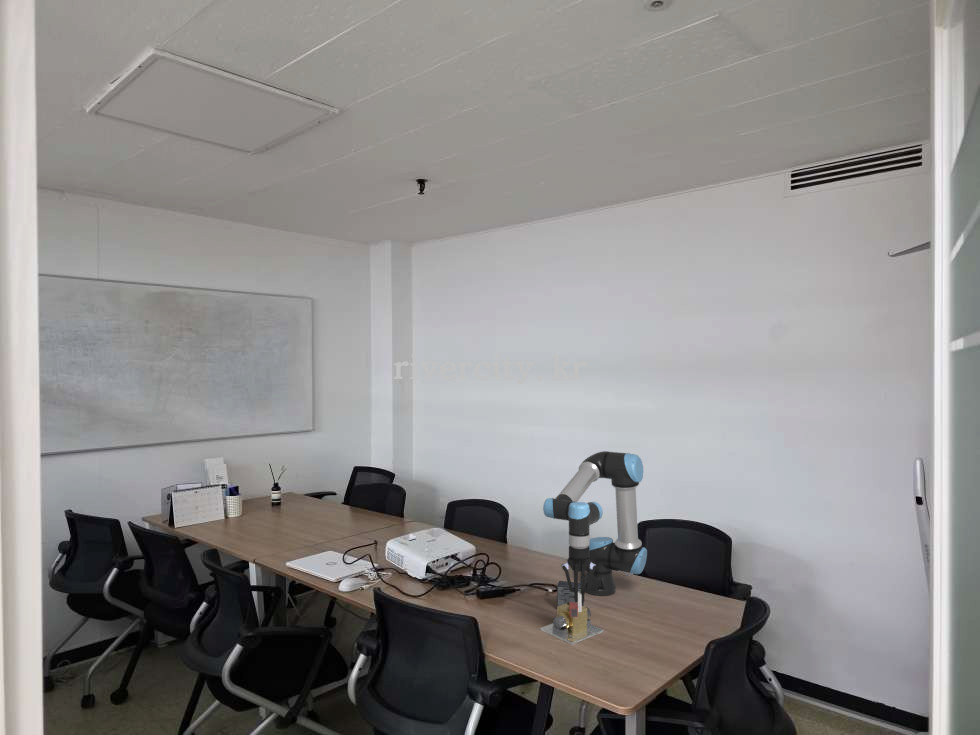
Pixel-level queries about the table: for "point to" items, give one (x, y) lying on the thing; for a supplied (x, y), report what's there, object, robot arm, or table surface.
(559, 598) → the small box
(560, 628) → the valve body
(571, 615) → the lever
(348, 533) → the table surface
